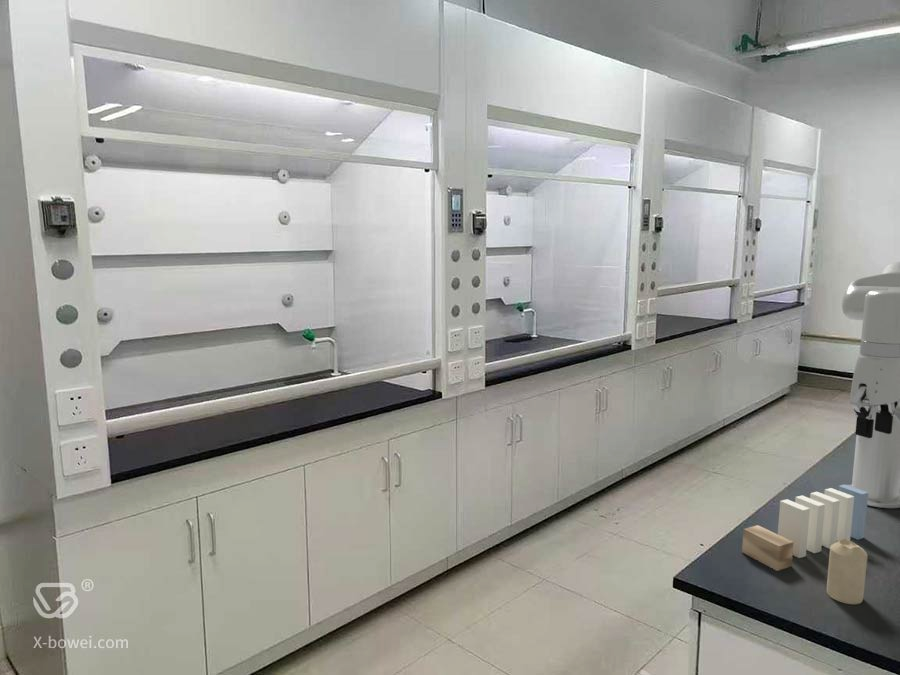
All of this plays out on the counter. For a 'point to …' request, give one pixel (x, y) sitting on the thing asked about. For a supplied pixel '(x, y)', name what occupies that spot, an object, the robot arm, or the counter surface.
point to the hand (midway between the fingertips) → (873, 433)
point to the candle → (846, 572)
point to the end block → (767, 547)
